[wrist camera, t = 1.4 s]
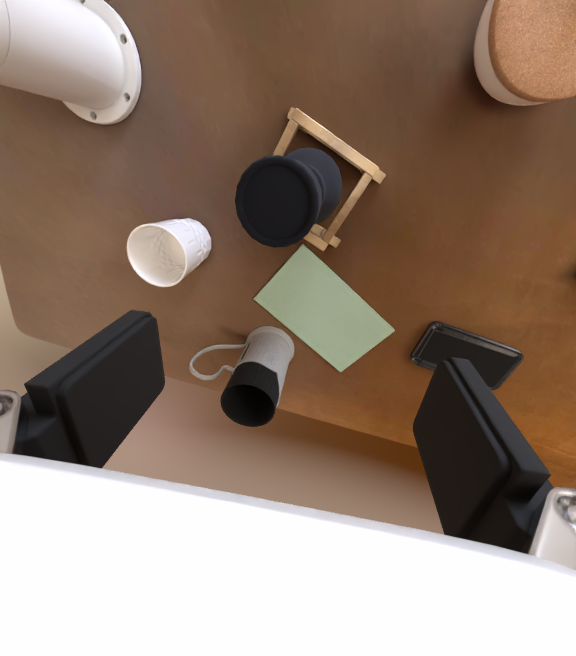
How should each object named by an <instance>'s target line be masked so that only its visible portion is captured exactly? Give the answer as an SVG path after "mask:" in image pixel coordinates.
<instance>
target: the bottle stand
mask: <svg viewBox="0 0 576 656" xmlns="http://www.w3.org/2000/svg"><path fill="white" fill-rule="evenodd" d="M287 118H288V119H289V122H288V124H287V126H286V128H285V130H284V132H283V135H282V137H281V139H280V141H279V143H278V145H277V147H276V149H275V151H274V153H273V155H272V156H276V155H280V156H284V157H285V155H286V153H287V151H288V149H289V147H290V145H291V143H292V141H293V139H294V137H295V135H296V133H297V131H298V129H300V130H302V131H303V132H305V133H309V134H310V135H311V136H313V137H314V138H316V139H317V140H318V141H320V142H321V143H323V144H324V145H325V146H327V147H328V148H330V149H331V150H332V151H334V152H335V153H337V154H338V155H339V156H341V157H342V158H344V159H345V160H346V161H348V162H349V163H351V164H352V165H353V166H355V167H356V168H358V169H359V170H360V172H361V173H362V176H361V177H360V179H359V181H358V182H357V184H356V185H355V187H354V188H353V190H352V191H351V193H350V194H349V196H348V198H347V199H346V201H345V202H344V204H343V205H342V207H341V208H340V210H339V211H338V213H337V214H336V216H335V218H334V219H333V221H332V222H331V224H330V225H329V227H328V228H327V230H326V229H325V228H323V227H321V226H320V225H318V224H317V223H316V224H314V225H313V227H312V228H311V230H310V232H309V233H308V234H307V235H306V236H305V237H304V239H305V240H307V241H308V242H310V243H311V244H313V245H314V246H316V247H317V248H319V249H321V250H322V251H324V250H325V248H326V247H327V245H328V244H330V245H332V246H333V247H335V248H336V247H337V246H338V244H339V243H340V241H341V240H340V239H339V238H338V237H336V236H335V233H336V232H337V230H338V229H339V227H340V226H341V224H342V223H343V222H344V220H345V219H346V217H347V216H348V214H349V213H350V211H351V210H352V208H353V207H354V205H355V204H356V202H357V201H358V199H359V198H360V196H361V195H362V193H363V192H364V190H365V189H366V187H367V186H368V184H369V183H370V181H371V180H372V179H373V180H374V181H376V182H377V183H379V184H380V183H381V182H382V180H383V179H384V177H385V176H386V174H384V173H383V172H381V171H380V170H379V167H378V166H376V165H375V164H374V163H372V162H371V161H369V160H368V159H367V158H365V157H364V156H362V155H361V154H360V153H358V152H357V151H356V150H354V149H353V148H351V147H350V146H349V145H347V144H346V143H344V142H343V141H342V140H340V139H339V138H337V137H336V136H335V135H333V134H332V133H331V132H329V131H328V130H326V129H325V128H324V127H322V126H321V125H319V124H318V123H317V122H315V121H314V120H313V119H311V118H310V117H308V116H307V115H306V114H304V113H303V112H301V111H300V110H299V109H297V108H295V109H294V108H293V107H291V109H290V111H289V113H288V115H287Z"/></svg>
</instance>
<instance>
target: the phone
mask: <svg viewBox="0 0 576 656" xmlns="http://www.w3.org/2000/svg"><path fill="white" fill-rule="evenodd" d="M447 357H454V358H460V359H467V360H469V361H470V362H471V364H472V365H473V366H474V368H475V369H476V371H477V372H478V373H479V375H480V376H481V378H482V379H483V380H484V382H485V383H486V385H487V386H488V387H489V389H490V390H496V389H498V388H499V387H500V386H501V384H502V383H503V382H504V381H505V380H506V379H507V378H508V377H509V375H510V374H511V373H512V372H513V371H514V370H515V369H516V367H517V366H518V365H519V364H520V363H521V362H522V360H523V358H524V357H523V355H522V354H521V353H520V352H519V351H518V350H517V349H514V348H511V347H509V346H506V345H503V344H500V343H497V342H495V341H492V340H489V339H486V338H483V337H480V336H478V335H475V334H472V333H469V332H466V331H464V330H461V329H458V328H455V327H452V326H450V325H447V324H444V323H441V322H433V323H431V324H430V325H429V326H428V328H427V330H426V331H425V333H424V334H423V336H422V337H421V339H420V341H419V342H418V344H417V345H416V347H415V348H414V350H413V352H412V353H411V359H412V361H413V363H414V364H416V365H419V366H422V367H425V368H427V369H430V370H433V371H435V369H436V366H437V364H438V362H439V361H441V360H443V361H444V360H445V359H446V358H447Z"/></svg>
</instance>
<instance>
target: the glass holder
mask: <svg viewBox="0 0 576 656" xmlns="http://www.w3.org/2000/svg"><path fill="white" fill-rule="evenodd" d="M239 348H245V349H244V351H243V353H242V355H241V356H240V358H239V360H238V362H237V364H236V366H235V368H233V367H231V366H227V365H224V366H222V367H221V368H220V369H219V371H218V372H217V373H215V374H214V375H202V374H200V373H198V372H197V371H195V370H194V368H193V367H192V363H193V361H194V360H195V359H196V358H197V357H198V356H200V355H201V354H203V353H205V352H208V351H211V350H215V349H239ZM293 355H294V344H293V342H292V340H291V338H290V337H289V335H288V334H287V333H285V332H284V331H283V330H281V329H279V328H276V327H272V326H262V327H259V328H257V329H255V330H253V331H252V332H251V333H250V334H249V336H248V338H247V341H246V343H245V344H241V345H213V346H210V347H207V348H205V349H203V350H201V351H199V352H198V353H197V354H196V355H195V356H194V357H193V358H192V360H191V362H190V364H189V370H190V372H191V373H192V374H193V375H194V376H195V377H197V378H199V379H202V380H212V379H215V378H216V377H218V376H219V374H220V373H221V372H222V370H229V371H231V372H232V375H231V378H230V380H229V382H228V384H227V386H226V388H225V390H224V391H223V393H222V396H221V406H222V409H223V411H224V412H225V414H226V415H227V416H228V417H229V418H230V419H231V420H233V421H234V422H237V423H238V424H241V425H244V426H250V427H257V426H261V425H264V424H266V423H268V422H269V421H270V420H271V419H272V418H273V416H274V414H275V410H276V407H277V406H278V403H279V400H280V396H281V392H282V388H283V384H284V380H285V376H286V372H287V368H288V364H289V362H290V361H291V359H292V357H293Z"/></svg>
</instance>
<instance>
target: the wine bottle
mask: <svg viewBox="0 0 576 656" xmlns="http://www.w3.org/2000/svg"><path fill="white" fill-rule="evenodd" d="M341 193H342V177H341V174H340V171H339V168H338V166H337V165H336V163H335V162H334V160H333V159H332V157H330V156H329V155H328V154H326V153H325V152H323V151H322V150H318V149H315V148H311V147H309V148H300V149H297V150H295V151H293V152H291V153H289V154H288V155H287V156H286V157H284V156H280V155H276V156H267V157H263V158H261V159H260V160H258V161H256V162H254V163H252V164H251V165H250V166H249V167H248V168H247V170H246V171H245V172H244V173H243V174H242V176H241V179H240V181H239V183H238V185H237V190H236V197H235V204H236V210H237V215H238V218H239V220H240V222H241V224H242V226H243V228H244V229H245V230H246V231H247V233H248V234H249V235H250V236H251V237H252V238H253V239H255V240H257V241H258V242H260V243H261V244H264V245H267V246H271V247H287V246H290V245H292V244H295V243H297V242H299V241H300V240H301V239H303V238H304V237H305V236H306V235H307V234H308V233H309V232H310V230H311V228H312V227H313V225H314V224H316V223H319V222H321V221H323V220H325V219H326V218H327V217H328V216H329V215H331V214H332V213H333V211H334V210H335V208H336V207H337V205H338V203H339V200H340V197H341Z"/></svg>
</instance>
